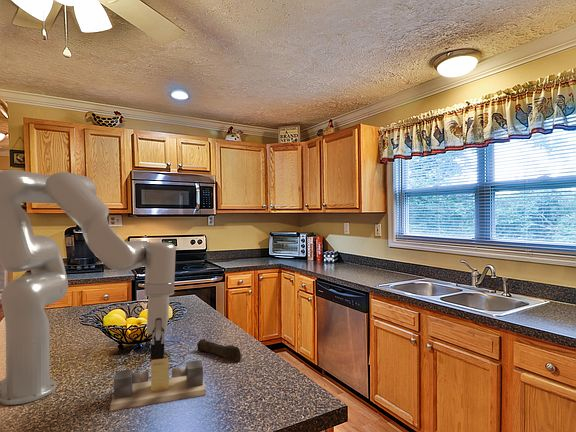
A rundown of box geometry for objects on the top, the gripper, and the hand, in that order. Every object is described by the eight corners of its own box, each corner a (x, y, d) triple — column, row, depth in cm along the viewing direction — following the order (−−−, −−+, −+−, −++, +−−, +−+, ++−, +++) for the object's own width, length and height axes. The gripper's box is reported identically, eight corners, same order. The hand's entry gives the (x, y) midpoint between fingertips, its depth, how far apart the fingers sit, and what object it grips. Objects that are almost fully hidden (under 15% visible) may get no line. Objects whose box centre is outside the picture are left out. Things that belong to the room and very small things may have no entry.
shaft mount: (110, 410, 86) (110, 384, 86) (115, 391, 96) (115, 367, 96) (205, 394, 94) (205, 370, 94) (201, 378, 104) (201, 356, 104)
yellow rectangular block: (151, 392, 92) (151, 365, 92) (151, 385, 96) (151, 360, 96) (168, 389, 94) (168, 363, 94) (168, 383, 98) (168, 357, 98)
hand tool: (196, 352, 124) (196, 338, 124) (205, 348, 128) (205, 335, 128) (234, 365, 113) (234, 351, 113) (243, 361, 116) (243, 347, 116)
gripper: (146, 282, 102) (143, 341, 102) (143, 296, 86) (140, 366, 86) (173, 282, 104) (171, 339, 104) (175, 295, 88) (172, 363, 88)
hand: (157, 351), depth 95 cm, fingers open, 9 cm apart
